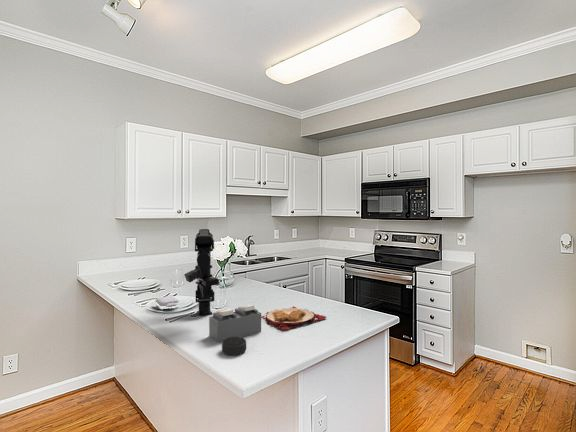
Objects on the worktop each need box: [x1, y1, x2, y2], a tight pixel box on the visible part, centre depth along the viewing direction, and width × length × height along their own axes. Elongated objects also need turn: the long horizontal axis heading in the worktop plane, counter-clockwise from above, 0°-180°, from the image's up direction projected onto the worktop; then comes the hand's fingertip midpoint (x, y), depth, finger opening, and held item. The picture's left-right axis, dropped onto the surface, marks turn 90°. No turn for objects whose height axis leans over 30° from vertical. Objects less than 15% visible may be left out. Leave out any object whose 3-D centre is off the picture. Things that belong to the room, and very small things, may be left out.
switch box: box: [208, 308, 262, 343], centre depth 146 cm, size 8×20×9 cm, turn 126°
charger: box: [155, 295, 180, 307], centre depth 181 cm, size 5×9×15 cm
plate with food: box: [261, 306, 327, 331], centre depth 166 cm, size 25×26×4 cm
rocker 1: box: [215, 308, 234, 316], centre depth 142 cm, size 6×4×2 cm
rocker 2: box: [237, 305, 256, 311], centre depth 148 cm, size 6×4×2 cm
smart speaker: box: [221, 337, 247, 356], centre depth 129 cm, size 9×9×4 cm
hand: (204, 298), depth 156 cm, fingers closed
